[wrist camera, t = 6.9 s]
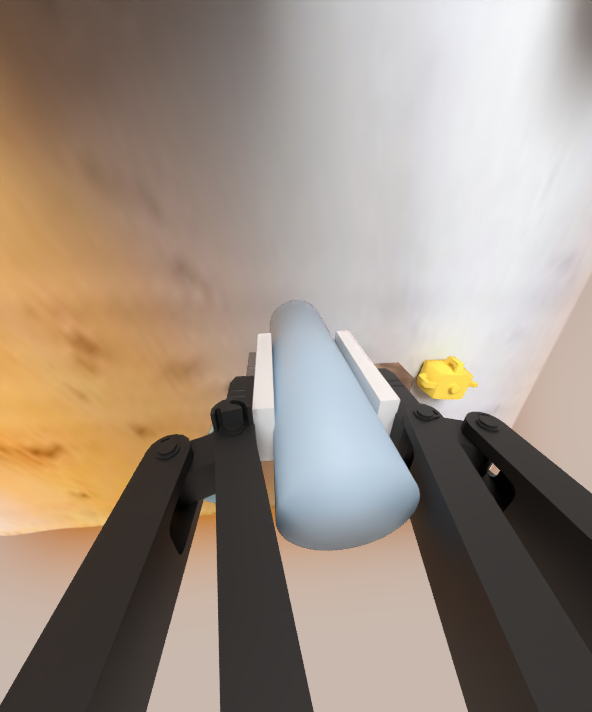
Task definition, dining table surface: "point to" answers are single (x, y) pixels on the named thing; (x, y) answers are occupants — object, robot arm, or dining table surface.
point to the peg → (329, 443)
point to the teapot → (445, 378)
